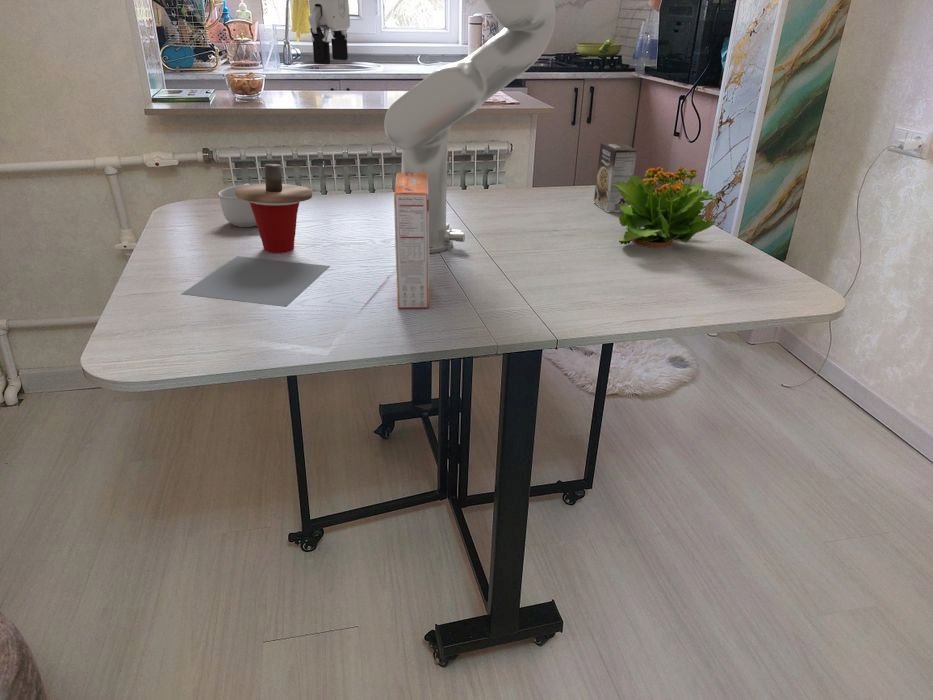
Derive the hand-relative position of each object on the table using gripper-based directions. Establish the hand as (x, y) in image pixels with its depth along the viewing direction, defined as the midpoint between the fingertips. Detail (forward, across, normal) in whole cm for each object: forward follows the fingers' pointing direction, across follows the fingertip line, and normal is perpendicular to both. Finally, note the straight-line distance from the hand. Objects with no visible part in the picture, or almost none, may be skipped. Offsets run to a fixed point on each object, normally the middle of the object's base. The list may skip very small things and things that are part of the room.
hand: (331, 61), depth 137 cm
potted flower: (+37, +16, -70) cm, 81 cm away
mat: (+36, -32, +4) cm, 48 cm away
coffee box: (+37, +41, -60) cm, 81 cm away
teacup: (+36, +2, +24) cm, 44 cm away
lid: (+24, -15, +8) cm, 30 cm away
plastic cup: (+36, -15, +8) cm, 40 cm away
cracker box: (+36, -29, -25) cm, 53 cm away
